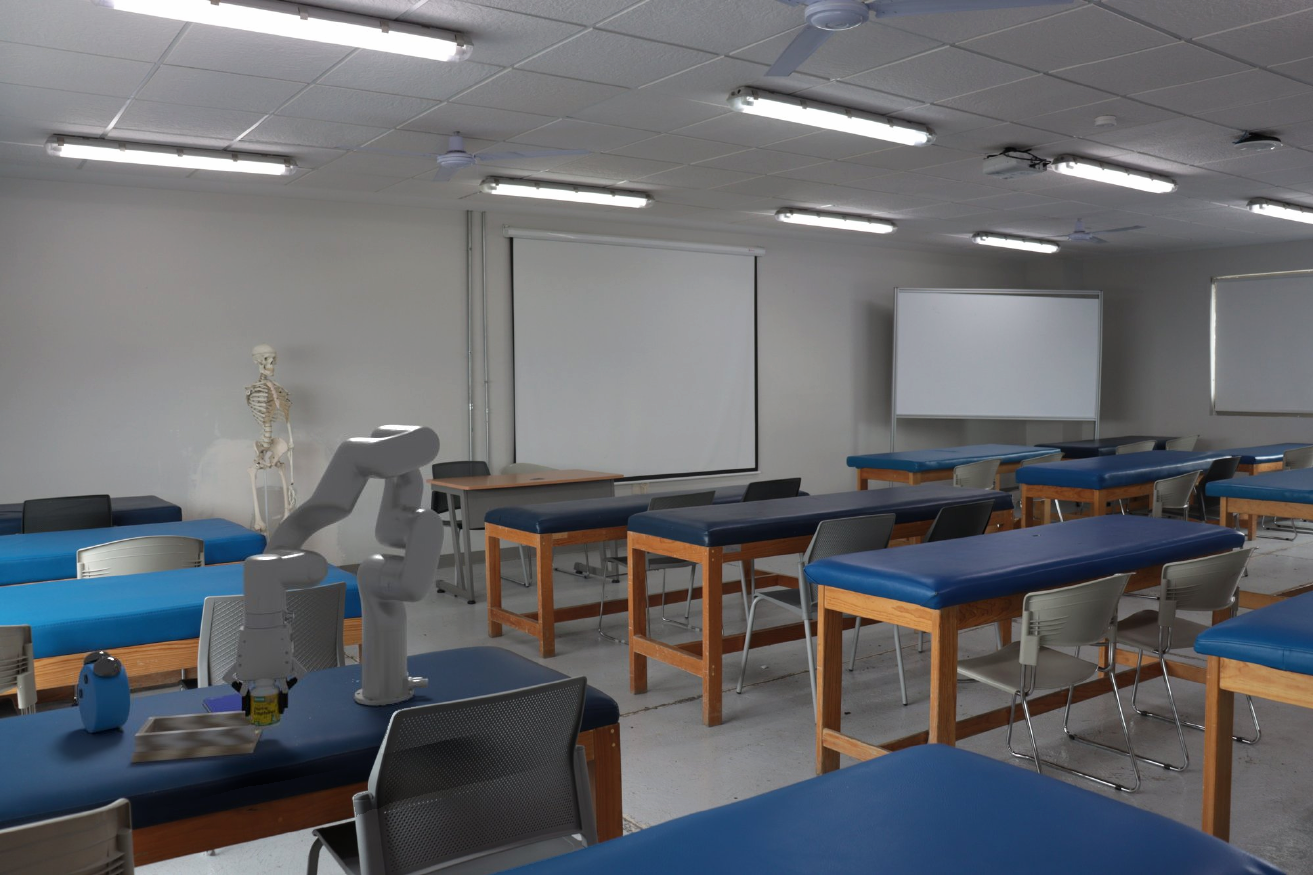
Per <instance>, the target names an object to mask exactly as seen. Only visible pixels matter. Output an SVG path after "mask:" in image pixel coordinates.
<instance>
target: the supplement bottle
mask: <svg viewBox="0 0 1313 875" xmlns="http://www.w3.org/2000/svg"><path fill="white" fill-rule="evenodd" d="M252 682H253V685H254V686H253V687H252V688H251V689H250V725H255V729H262V731H263V730H269V729H274V728H276V727H278V726H279V725H280V724H281V714H279V694H280V691H281V687H280V685H278V684H276V683H277V679H259V680H256V681H252Z"/></svg>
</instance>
